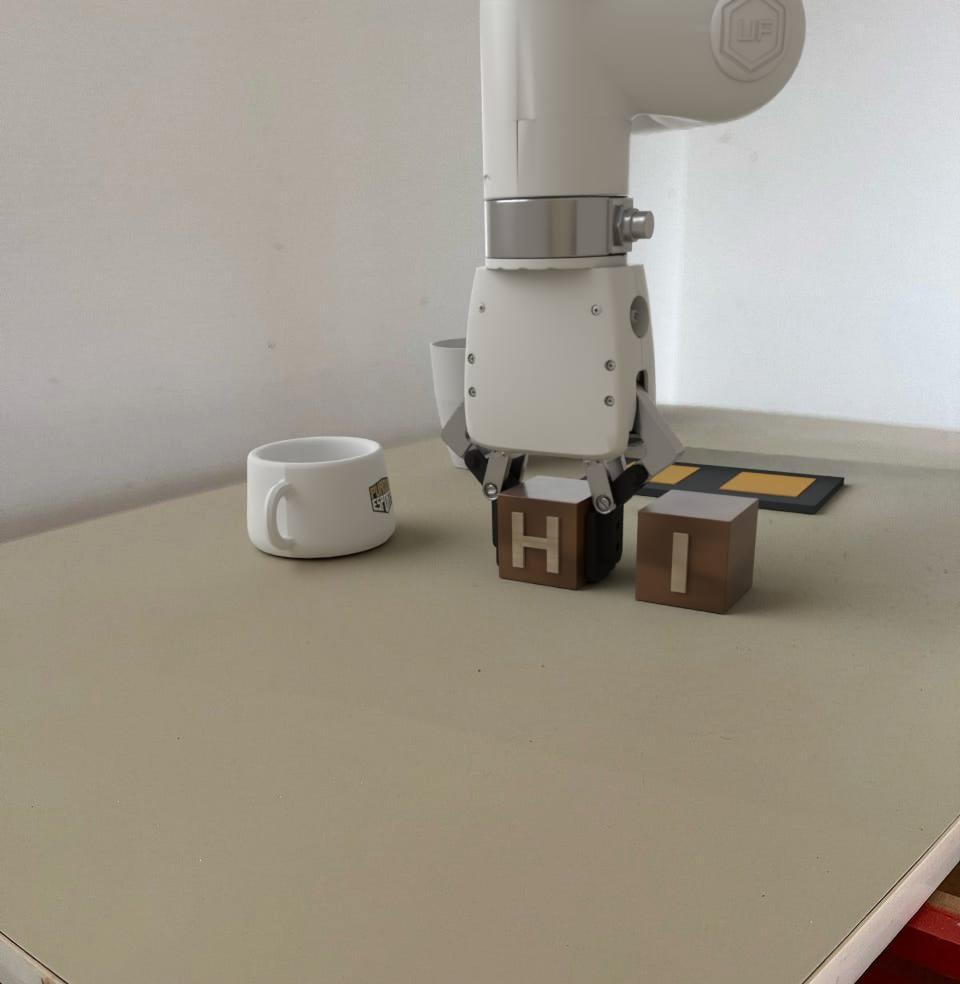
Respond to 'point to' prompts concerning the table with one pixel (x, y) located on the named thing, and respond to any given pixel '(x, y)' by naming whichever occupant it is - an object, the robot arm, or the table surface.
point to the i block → (696, 550)
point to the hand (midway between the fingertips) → (556, 564)
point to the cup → (449, 381)
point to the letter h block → (544, 531)
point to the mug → (318, 497)
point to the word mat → (746, 485)
